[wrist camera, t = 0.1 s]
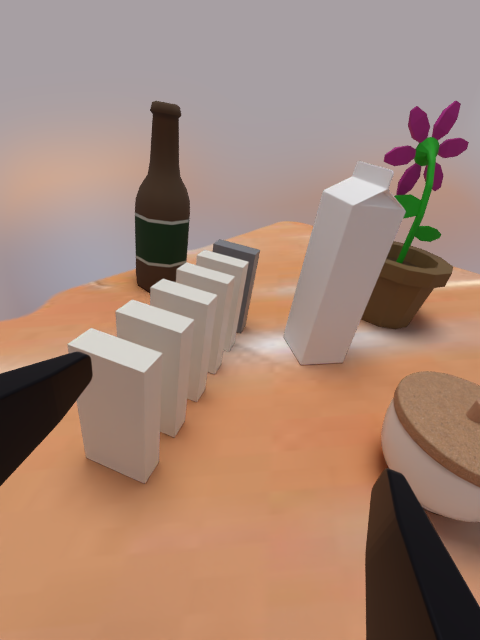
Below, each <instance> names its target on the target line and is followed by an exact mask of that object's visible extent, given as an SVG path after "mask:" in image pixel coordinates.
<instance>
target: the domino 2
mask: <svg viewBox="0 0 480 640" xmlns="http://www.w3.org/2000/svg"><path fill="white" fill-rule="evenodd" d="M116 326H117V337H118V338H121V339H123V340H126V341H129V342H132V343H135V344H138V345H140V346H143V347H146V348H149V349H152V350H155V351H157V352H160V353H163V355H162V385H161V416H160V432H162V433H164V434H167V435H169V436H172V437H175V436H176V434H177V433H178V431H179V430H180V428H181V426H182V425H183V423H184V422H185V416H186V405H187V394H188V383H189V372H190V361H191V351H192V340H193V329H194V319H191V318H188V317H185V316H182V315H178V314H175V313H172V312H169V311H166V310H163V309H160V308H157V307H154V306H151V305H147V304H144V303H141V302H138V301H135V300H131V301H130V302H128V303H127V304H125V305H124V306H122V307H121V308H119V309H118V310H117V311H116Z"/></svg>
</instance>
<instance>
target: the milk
mask: <svg viewBox="0 0 480 640" xmlns="http://www.w3.org/2000/svg"><path fill="white" fill-rule="evenodd" d="M392 178H393V170H389V169H386V168H383V167H379V166H375V165H372V164H368V163H364V162H361V161H359V162H357V164H356V166H355V169H354V173H353V176H352V177H350V178H348V179H346V180H344V181H342V182H340V183H338V184H336V185H334V186H332V187H329V188H327V189H325V190H324V191H323V193H322V197H321V201H320V204H319V208H318V211H317V215H316V219H315V222H314V226H313V230H312V233H311V237H310V241H309V244H308V248H307V252H306V255H305V259H304V262H303V266H302V270H301V273H300V277H299V281H298V284H297V288H296V292H295V295H294V299H293V302H292V306H291V310H290V313H289V317H288V321H287V324H286V328H285V332H284V335H283V337H284V338H285V340H286V342H287V343H288V345H289V347H290V348H291V350H292V352H293V353H294V355H295V356H296V358H297V360H298V361H299V363H300V365H310V364H327V363H342V362H343V361H344V358H345V356H346V354H347V351H348V349H349V347H350V344H351V342H352V339H353V337H354V335H355V332H356V330H357V327H358V325H359V323H360V320H361V318H362V315H363V313H364V311H365V308H366V306H367V303H368V301H369V299H370V296H371V294H372V291H373V289H374V287H375V284H376V282H377V279H378V277H379V275H380V272H381V270H382V267H383V265H384V263H385V260H386V258H387V255H388V253H389V251H390V248H391V246H392V243H393V241H394V239H395V236H396V234H397V231H398V229H399V227H400V224H401V222H402V219H403V217H404V215H405V212H406V211H405V209H404V208H403V207H402V205H401V204H400V203H399V202H398V201H397V199H396V198H395V197H394V196H393V194H392V193H391V192H390V191H389V186H390V182H391V180H392Z"/></svg>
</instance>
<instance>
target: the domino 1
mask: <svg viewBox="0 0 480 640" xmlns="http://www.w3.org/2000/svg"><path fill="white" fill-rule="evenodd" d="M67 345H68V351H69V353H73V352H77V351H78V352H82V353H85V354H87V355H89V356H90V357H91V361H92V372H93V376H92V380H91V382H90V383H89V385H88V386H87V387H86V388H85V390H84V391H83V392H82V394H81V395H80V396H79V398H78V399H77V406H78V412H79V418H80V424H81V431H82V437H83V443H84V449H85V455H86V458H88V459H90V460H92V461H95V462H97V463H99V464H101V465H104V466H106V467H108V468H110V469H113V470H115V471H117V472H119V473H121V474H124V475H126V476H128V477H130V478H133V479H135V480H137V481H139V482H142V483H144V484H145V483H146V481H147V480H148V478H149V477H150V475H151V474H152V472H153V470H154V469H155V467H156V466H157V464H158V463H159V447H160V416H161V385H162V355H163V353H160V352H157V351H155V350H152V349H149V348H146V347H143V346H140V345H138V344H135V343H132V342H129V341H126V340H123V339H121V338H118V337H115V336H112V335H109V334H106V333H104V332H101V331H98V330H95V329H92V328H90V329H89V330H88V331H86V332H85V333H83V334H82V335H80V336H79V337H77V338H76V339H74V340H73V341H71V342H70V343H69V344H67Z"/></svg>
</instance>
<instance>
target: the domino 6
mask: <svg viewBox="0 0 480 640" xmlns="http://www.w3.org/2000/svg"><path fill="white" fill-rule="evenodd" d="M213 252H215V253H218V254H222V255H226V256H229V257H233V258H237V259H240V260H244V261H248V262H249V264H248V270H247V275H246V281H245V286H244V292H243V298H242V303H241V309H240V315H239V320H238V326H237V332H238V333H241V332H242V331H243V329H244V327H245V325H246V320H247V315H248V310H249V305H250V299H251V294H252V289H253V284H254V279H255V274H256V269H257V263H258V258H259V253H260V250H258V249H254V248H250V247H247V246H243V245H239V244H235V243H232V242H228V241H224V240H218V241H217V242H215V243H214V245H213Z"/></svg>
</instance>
